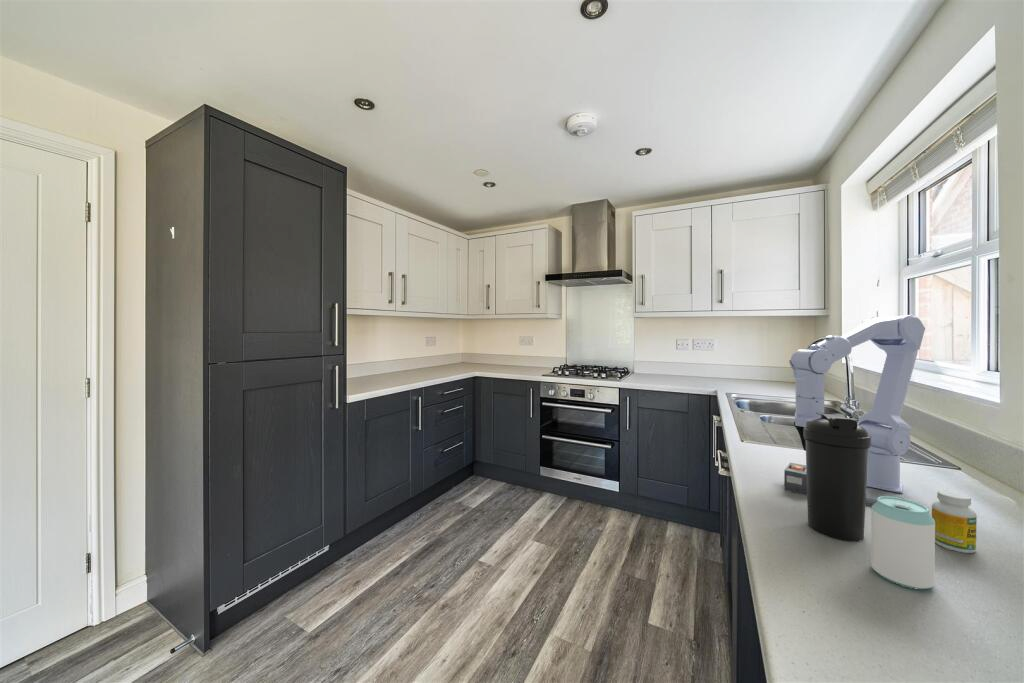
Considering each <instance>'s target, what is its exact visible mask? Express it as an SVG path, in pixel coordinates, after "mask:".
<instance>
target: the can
mask: <svg viewBox="0 0 1024 683" xmlns="http://www.w3.org/2000/svg"><path fill="white" fill-rule="evenodd" d="M876 498H877V502H876V503H875V504H874V505H872V506H870V507H871V514H870V515H871V516H870V517H871V518H870V521H871V522H870V524H871V528H870V566H871V568H872V569H873V570H874V571H875V572H876V573H878V574H879V575H880V576H881V577H882V576H883V577H882V578H884V579H885V578H886V579H885V580H887V581H889V582H891V583H893V584H895V583H896V585H898V584H900V585H903V586H902V587H904V586H906V587H905V588H907V587H910V588H909V589H912V588H917V589H916V590H924V589H926V590H927V589H931V588H933V587H935V576H936V575H935V574H936V573H935V572H936V571H935V570H936V569H935V563H936V561H935V560H936V554H935V553H936V550H935V548H936V543H935V521H934V519H933V518H932V514H930V510H929V508H928V507H927V506H925V505H923V504H921V503H919V502H916V501H913V500H909V499H906V498H900V497H898V496H897V497H896V496H888V495H887V496H886V495H883V496H878V497H876ZM900 585H899V586H900Z"/></svg>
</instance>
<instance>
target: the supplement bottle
mask: <svg viewBox="0 0 1024 683" xmlns="http://www.w3.org/2000/svg"><path fill="white" fill-rule="evenodd" d="M936 498H937V499H938V500H935V501H933V502H932V503H931V517H932V518H933V519H934V521H935V544H937V546H940V547H942V548H945V549H947V550H950V551H954V552H959V553H963V554H973V553H975V552H977V551H976V550H977V518H978V516H977V512H976V511H975V509H973V508H972V507H970V506H971V504H972V497H971V496H970V495H968V494H965V493H961V492H957V491H953V490H944V489H940V490H939V489H938V490H937V496H936Z"/></svg>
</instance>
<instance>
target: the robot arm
mask: <svg viewBox="0 0 1024 683" xmlns="http://www.w3.org/2000/svg"><path fill="white" fill-rule="evenodd" d="M925 330H926V327H925V325H924V324H923V322H922V321H921V319H920V318H919V317H918V316H917V315H914V314H907V315H906V314H905V315H896V316H893V315H892V316H871V317H869V318H868V319H864V320H862V321H861V324H860V325H858V326H856V327H855V328H854V329H853V328H852V330H850V331H848V332H847V333H845V334H843V335H841V336H840V335H826V336H825V337H824V340H822V341H820V342H818V343H815V344H814V343H813V344H811V345H809V347H808V348H807V349H798V350H797V351H795V352H794V353H793V354H792V355H791V357H790V359H789V360H788V362H789V366H790V368H791V369H792V371H793V374H792V375H793V376H794V378H795V412H794V417H795V418H794V421H793V426H794V427H795V429H796V431H797V432H798V435H799V437H800V441H801V446H802V449H803V450H804V451H805V452H806V440H805V439H804V436H803V429H804V427H806V425H807V424H808V423H809V422H810V421H812V420H815V419H819V418H821V415H819V414H816V412H825V373H828V371H830V369H831V367H832V365H833V364H835V363H836V362H837V361H840V360H841V359H843V358H845V357H847V356H849V355H850V354H851V353H852V350H853V349H852V348H854V347H856V346H859V345H861V344H863V343H865V342H868V341H870V342H872V344H874V345H875V346H876V347H877V348H878V349H880V350H882V351H884V352H885V354H886V357H885V361H884V364H883V368H882V372H881V376H880V379H879V383H878V386H877V390H876V393H875V397H874V400H873V404H872V408H871V410H870V411H868V412H866V413H864V414H861V415H860V416H859V417H858V418H859V419H858V421H857V424H858V425H860V426H862V427H863V428H864V429H865V430H866V431H867V433H868V434H869V435H870V436H871V446H870V448H869V449H868V465H867V485H866V487H869V488H874V489H878V490H884V491H888V492H893V493H898V494H903V484H902V483H903V482H902V481H901V456H904V454H905V453H906V452H907V451H908V450H909V449H910V447H911V444H912V443H911V442H912V440H911V430H912V428H911V426H910V425H909V424H908V423H907V422H906V421H905V420H903V419H902V417H901V416H902V411H903V407H904V403H905V400H906V397H907V393H908V389H909V386H910V382H911V379H912V375H913V371H914V367H915V364H916V360H917V356H918V352H919V350H921V345H922V342H923V339H924V338H923V337H924V335H925V332H926V331H925Z"/></svg>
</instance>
